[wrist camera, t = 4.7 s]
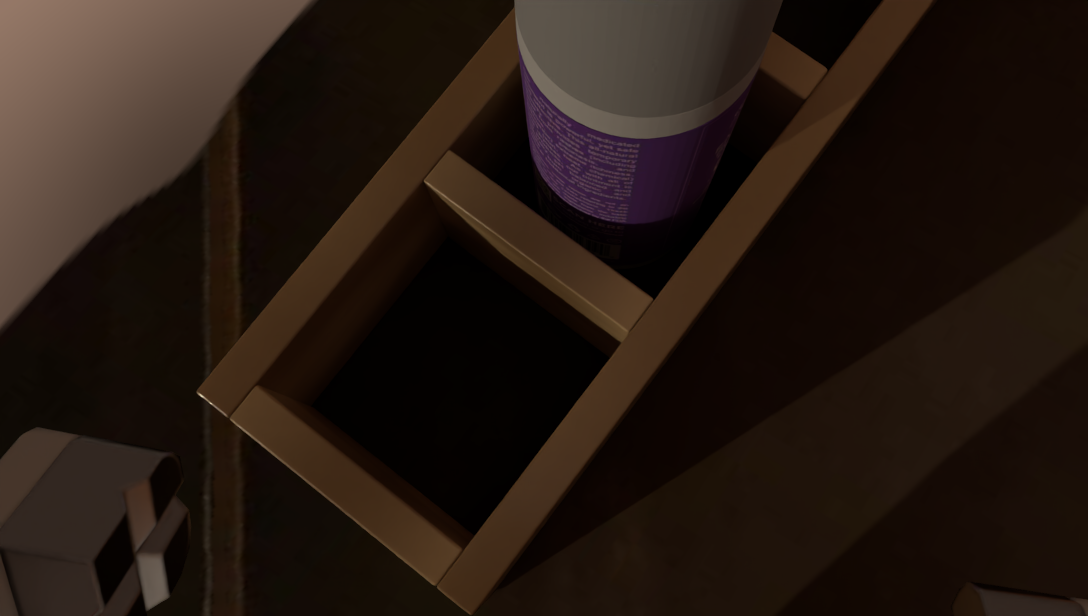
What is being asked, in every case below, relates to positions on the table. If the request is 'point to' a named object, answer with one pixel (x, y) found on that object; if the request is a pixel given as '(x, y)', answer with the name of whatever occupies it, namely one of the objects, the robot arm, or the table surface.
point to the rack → (533, 268)
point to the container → (633, 112)
